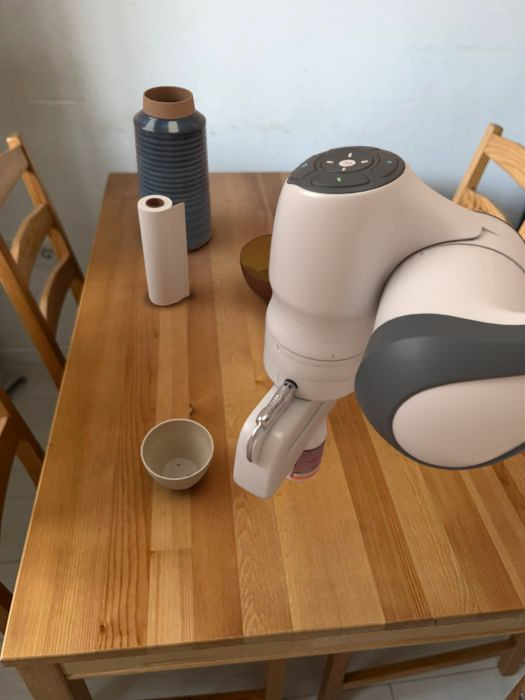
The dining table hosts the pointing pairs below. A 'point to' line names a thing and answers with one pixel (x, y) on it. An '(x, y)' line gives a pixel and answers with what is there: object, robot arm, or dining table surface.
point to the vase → (175, 156)
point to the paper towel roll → (164, 249)
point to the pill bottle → (310, 456)
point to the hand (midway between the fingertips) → (301, 445)
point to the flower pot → (177, 453)
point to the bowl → (257, 266)
